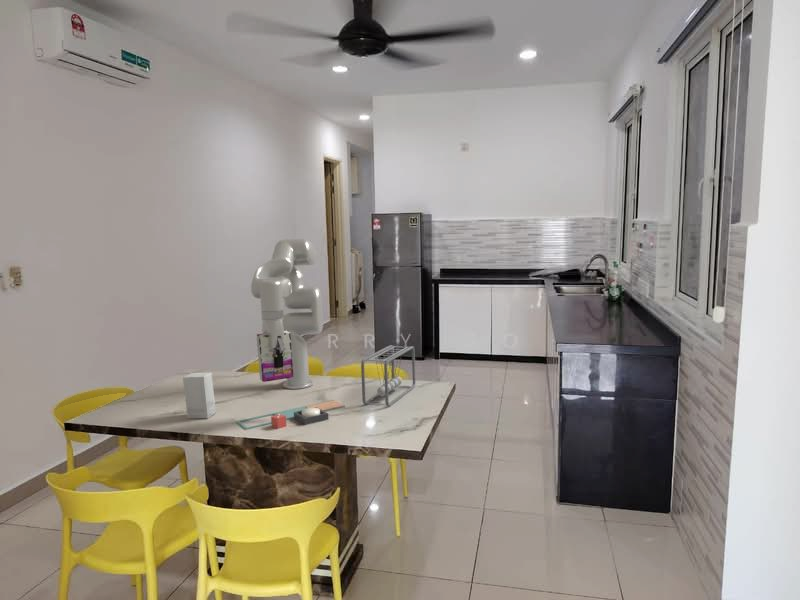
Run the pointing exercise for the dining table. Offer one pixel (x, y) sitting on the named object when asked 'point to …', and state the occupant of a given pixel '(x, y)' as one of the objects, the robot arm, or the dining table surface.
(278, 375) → the candy bar box
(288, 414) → the track
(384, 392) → the newton's cradle
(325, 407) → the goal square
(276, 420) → the red die
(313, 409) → the popper cap
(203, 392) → the skincare box
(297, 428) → the dining table surface
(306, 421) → the frame
